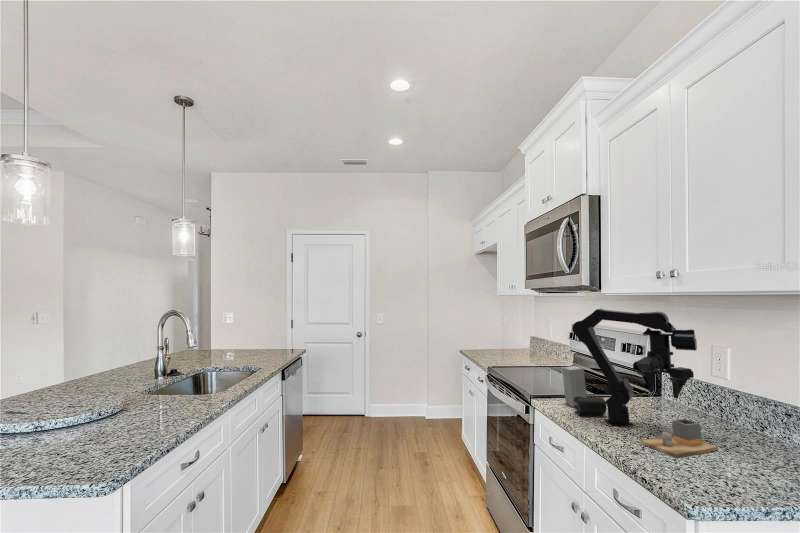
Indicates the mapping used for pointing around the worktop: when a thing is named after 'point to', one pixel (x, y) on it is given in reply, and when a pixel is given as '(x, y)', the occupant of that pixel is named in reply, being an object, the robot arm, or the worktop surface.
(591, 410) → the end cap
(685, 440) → the sleeve
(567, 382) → the skincare box
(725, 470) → the worktop surface
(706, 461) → the worktop surface
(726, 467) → the worktop surface
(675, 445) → the pin board
